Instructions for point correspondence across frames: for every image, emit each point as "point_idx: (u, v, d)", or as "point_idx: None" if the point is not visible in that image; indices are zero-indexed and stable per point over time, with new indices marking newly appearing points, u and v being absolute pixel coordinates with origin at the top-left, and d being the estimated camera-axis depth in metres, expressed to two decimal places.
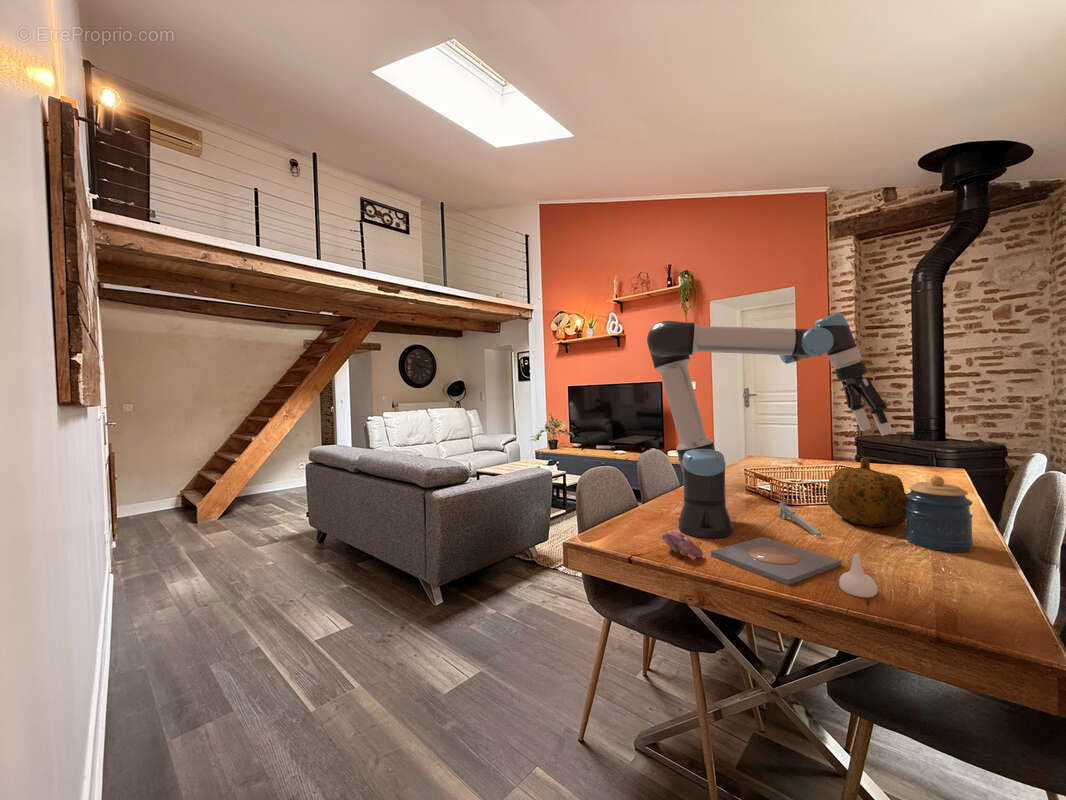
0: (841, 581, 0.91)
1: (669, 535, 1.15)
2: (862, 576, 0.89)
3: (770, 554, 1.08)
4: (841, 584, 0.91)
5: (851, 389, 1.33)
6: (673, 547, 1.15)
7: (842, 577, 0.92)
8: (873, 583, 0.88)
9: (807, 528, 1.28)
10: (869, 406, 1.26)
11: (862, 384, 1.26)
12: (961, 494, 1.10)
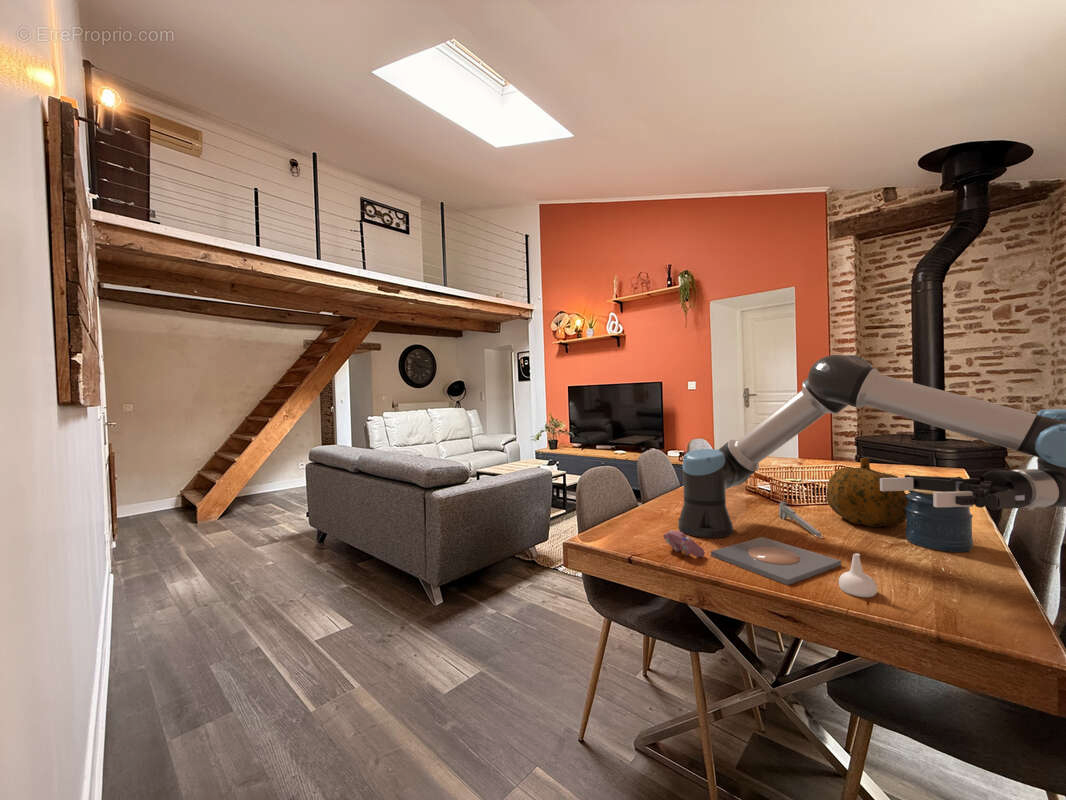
0: (841, 581, 0.91)
1: (671, 535, 1.15)
2: (861, 576, 0.89)
3: (770, 554, 1.08)
4: (841, 584, 0.91)
5: (969, 482, 0.91)
6: (675, 547, 1.16)
7: (842, 577, 0.92)
8: (873, 583, 0.89)
9: (807, 528, 1.28)
10: None
11: (1019, 492, 0.83)
12: None
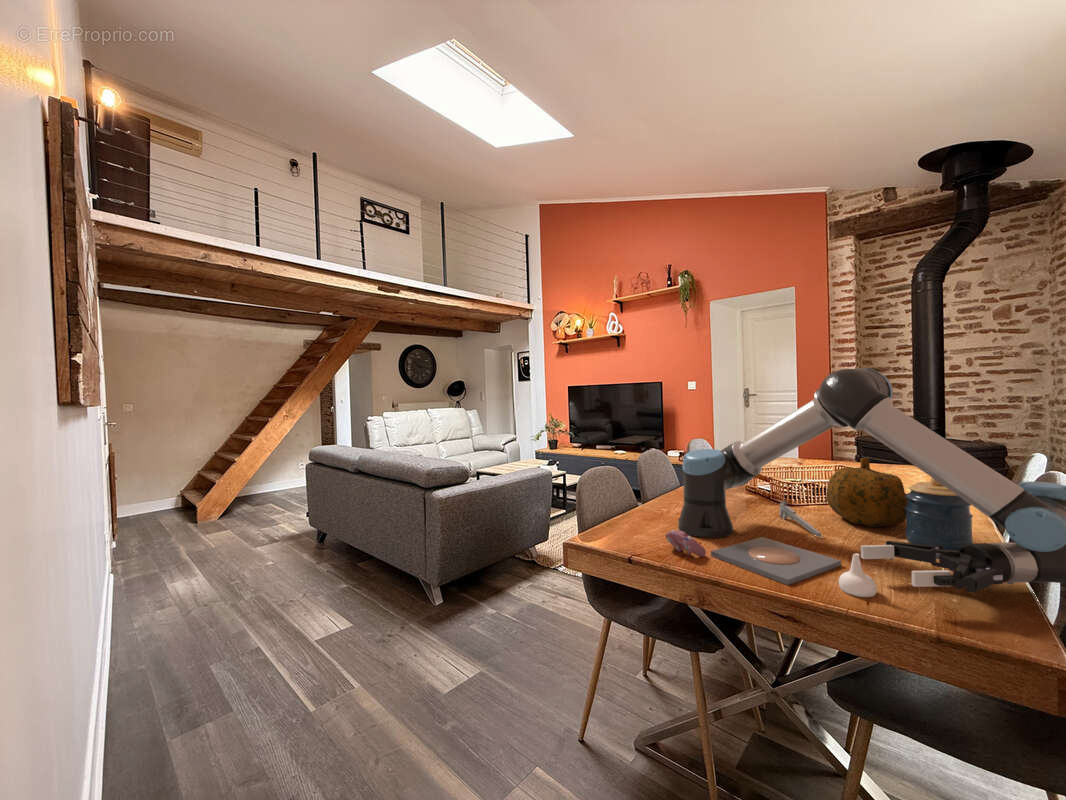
0: (841, 581, 0.91)
1: (672, 534, 1.15)
2: (861, 576, 0.89)
3: (770, 554, 1.08)
4: (841, 584, 0.91)
5: (949, 554, 0.91)
6: (676, 546, 1.16)
7: (842, 577, 0.92)
8: (873, 583, 0.89)
9: (807, 528, 1.28)
10: (957, 570, 0.83)
11: (997, 572, 0.82)
12: None
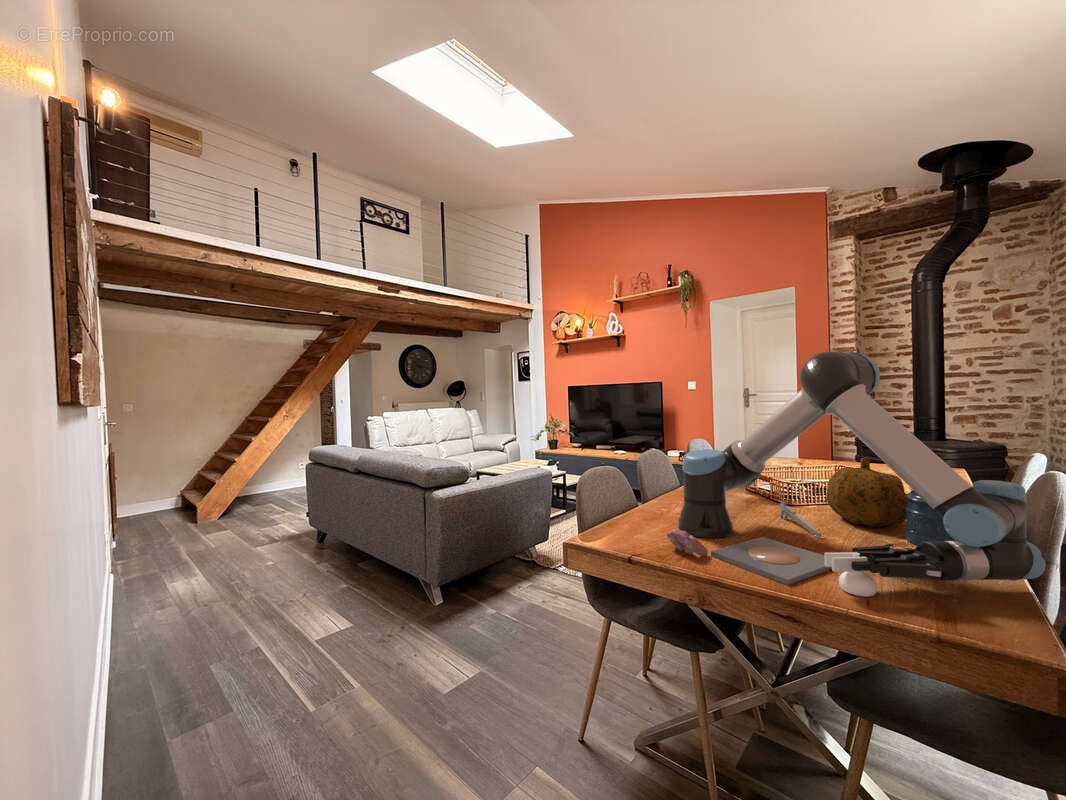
0: (841, 580, 0.91)
1: (674, 534, 1.16)
2: (861, 575, 0.89)
3: (770, 554, 1.08)
4: (841, 583, 0.91)
5: (908, 553, 0.91)
6: (678, 546, 1.16)
7: (842, 576, 0.92)
8: (873, 582, 0.89)
9: (808, 528, 1.28)
10: (882, 558, 0.89)
11: (932, 568, 0.84)
12: None
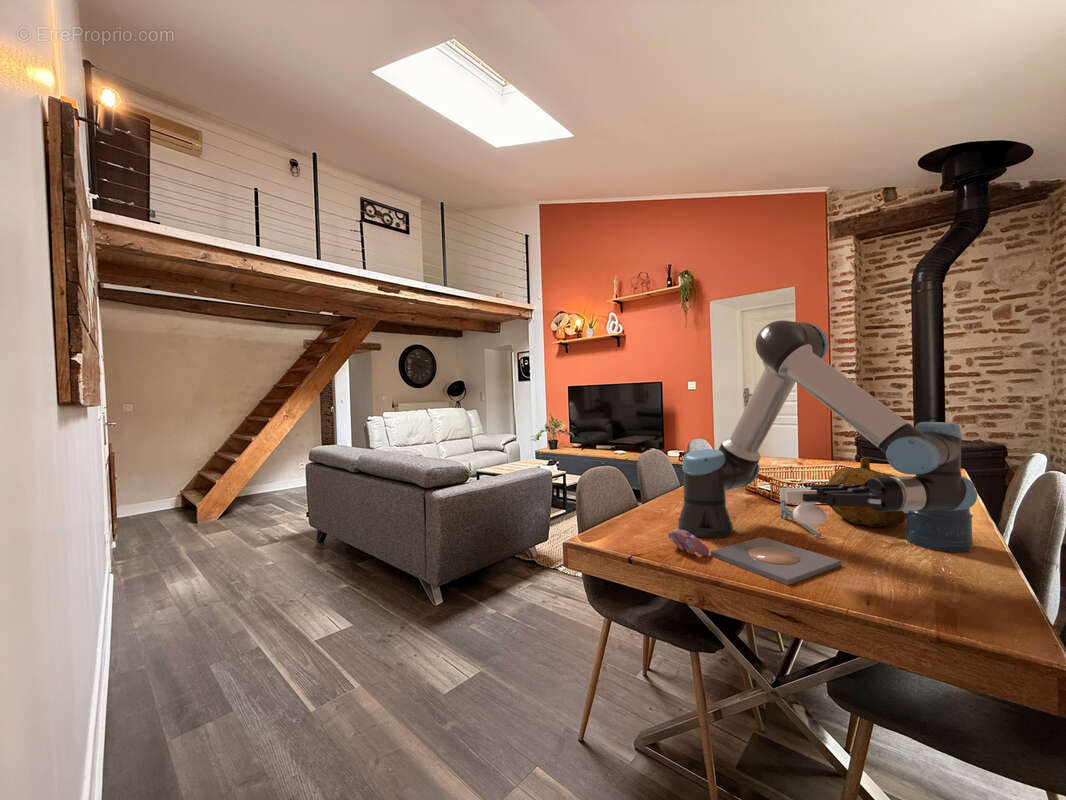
0: (794, 512, 1.00)
1: (675, 533, 1.16)
2: (812, 507, 0.98)
3: (770, 554, 1.08)
4: (794, 515, 1.00)
5: (855, 488, 1.00)
6: (679, 545, 1.17)
7: (795, 509, 1.01)
8: (822, 512, 0.98)
9: (808, 528, 1.28)
10: (830, 491, 0.98)
11: (873, 496, 0.93)
12: None
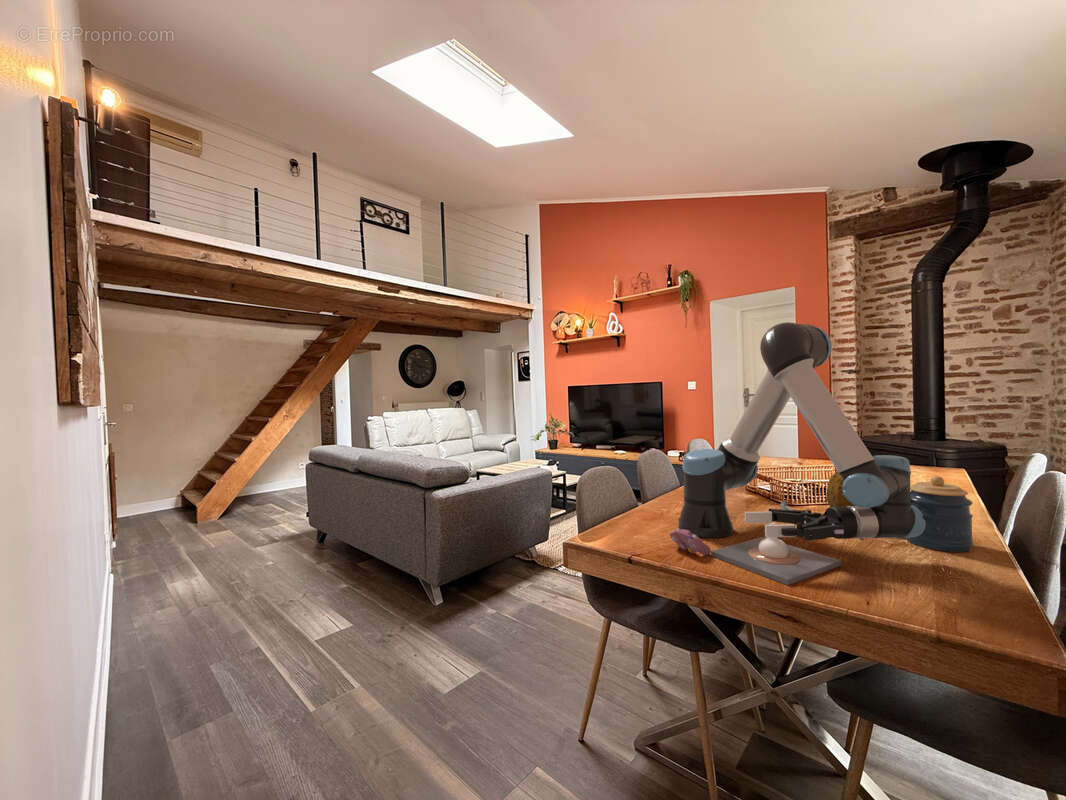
0: (759, 545, 1.09)
1: (677, 533, 1.16)
2: (775, 541, 1.07)
3: None
4: (759, 548, 1.08)
5: (813, 516, 1.09)
6: (681, 545, 1.17)
7: (760, 542, 1.09)
8: (784, 546, 1.06)
9: None
10: (803, 524, 1.03)
11: (838, 527, 1.01)
12: (961, 494, 1.10)
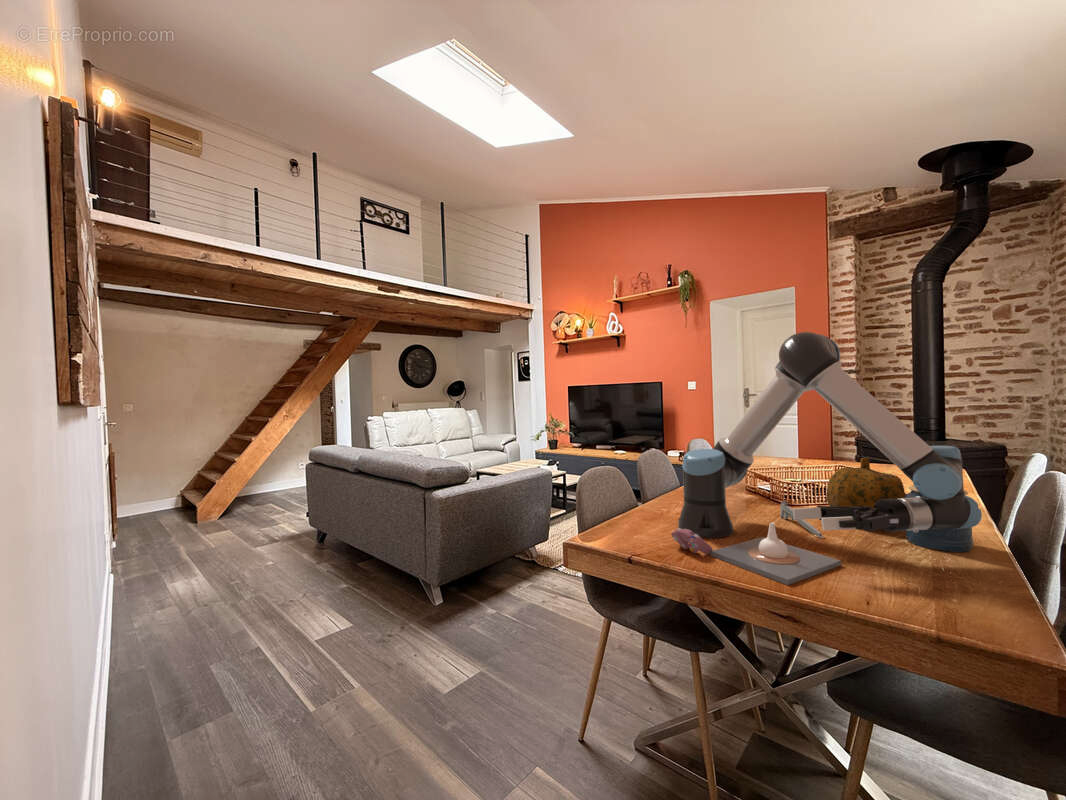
0: (759, 545, 1.09)
1: (679, 532, 1.16)
2: (775, 541, 1.07)
3: None
4: (759, 548, 1.08)
5: (862, 509, 1.08)
6: (683, 544, 1.17)
7: (760, 542, 1.09)
8: (784, 546, 1.06)
9: (808, 528, 1.28)
10: None
11: (893, 516, 1.00)
12: None
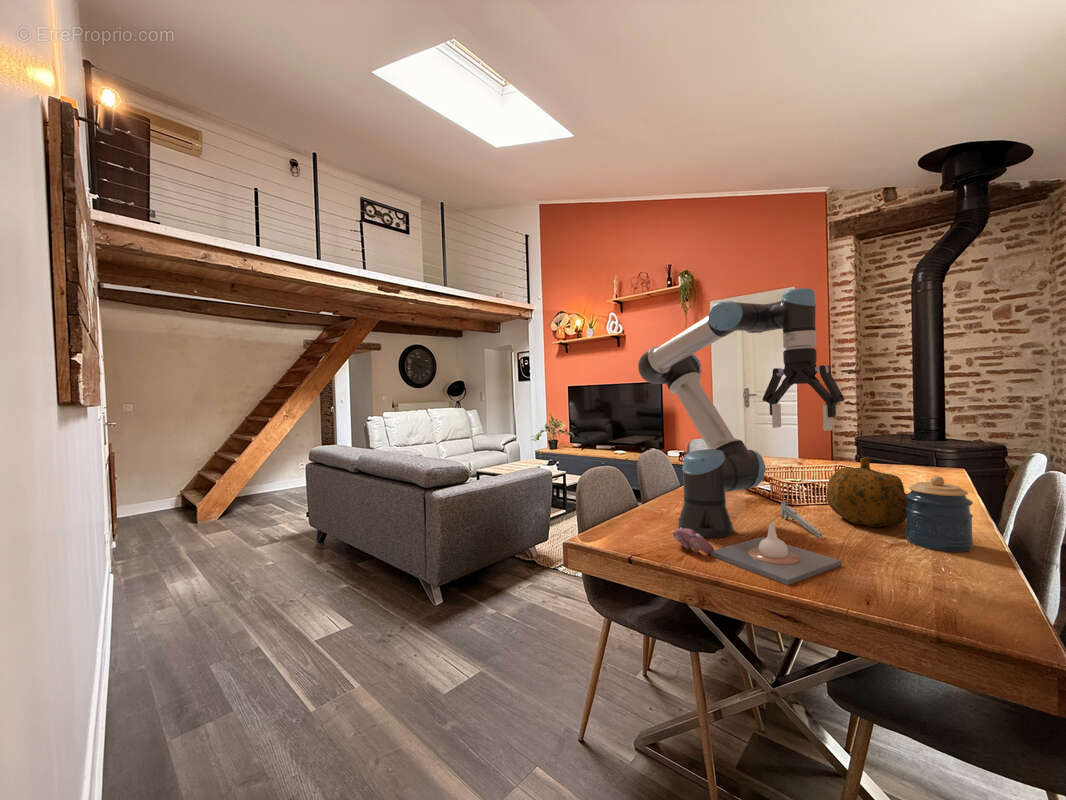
0: (759, 545, 1.09)
1: (680, 532, 1.17)
2: (775, 541, 1.07)
3: None
4: (759, 548, 1.08)
5: None
6: (684, 544, 1.18)
7: (760, 542, 1.09)
8: (784, 546, 1.06)
9: (808, 528, 1.28)
10: None
11: None
12: (961, 494, 1.10)
